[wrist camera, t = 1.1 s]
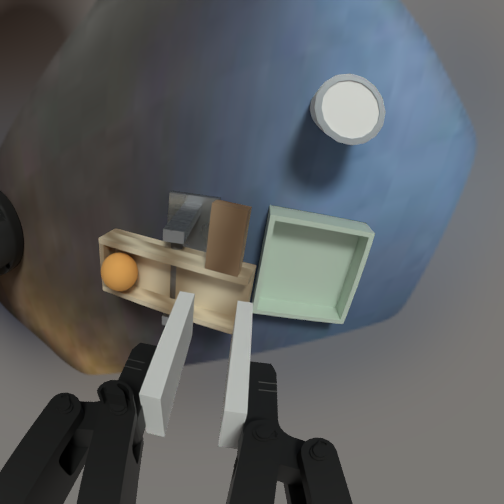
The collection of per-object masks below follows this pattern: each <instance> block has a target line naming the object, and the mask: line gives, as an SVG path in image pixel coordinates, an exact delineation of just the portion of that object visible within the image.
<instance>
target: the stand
mask: <svg viewBox="0 0 504 504" xmlns="http://www.w3.org/2000/svg"><path fill="white" fill-rule="evenodd" d="M220 199H221V197H214V196H207V195H200V194H193V193H185V192H178V191H171V192H170V194H169V209H168V224H167V225H166V226H165V227H164V229H163V241H166V242H168V243H171V242H173V243H179V244H183V246H184V247H187V248H191V249H195V250H199V251H203V252H206V251H207V242H208V233H209V224H210V215H211V207H212V203H213V202H214V201H216V200H220ZM169 316H170V315H169V314H166V313H163V315H162V325H166V323H167V321H168V318H169Z"/></svg>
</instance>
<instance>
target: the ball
mask: <svg viewBox="0 0 504 504" xmlns="http://www.w3.org/2000/svg"><path fill="white" fill-rule="evenodd" d="M101 276H102V279H103V281H104V283H105V284H106V286H107V287H109V288H110V289H112V290H115V291H125V290H127V289H129V288H131V287H132V286H133V285H134V283H135V282H136V280H137V276H138V268H137V265H136V262H135V261H134V259H133V258H132V257H131V256H129V255H128V254H125V253H120V252H118V253H113V254H111V255H109V256H108V257H107V258H106V259H105V260H104V262H103V264H102V267H101Z"/></svg>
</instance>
